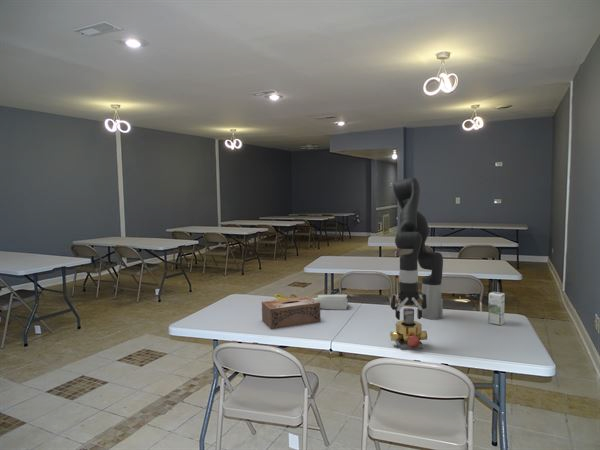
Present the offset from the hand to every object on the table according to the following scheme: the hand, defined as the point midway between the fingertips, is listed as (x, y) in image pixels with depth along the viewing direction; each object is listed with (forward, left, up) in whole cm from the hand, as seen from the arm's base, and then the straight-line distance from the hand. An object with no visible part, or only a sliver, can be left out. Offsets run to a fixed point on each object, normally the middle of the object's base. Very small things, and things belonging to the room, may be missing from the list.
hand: (408, 319), depth 169 cm
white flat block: (+28, -66, -12) cm, 73 cm away
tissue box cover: (+49, -36, -12) cm, 62 cm away
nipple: (0, 0, -5) cm, 5 cm away
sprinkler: (+53, -66, -12) cm, 86 cm away
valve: (0, +1, -11) cm, 11 cm away
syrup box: (-49, -25, -11) cm, 56 cm away
